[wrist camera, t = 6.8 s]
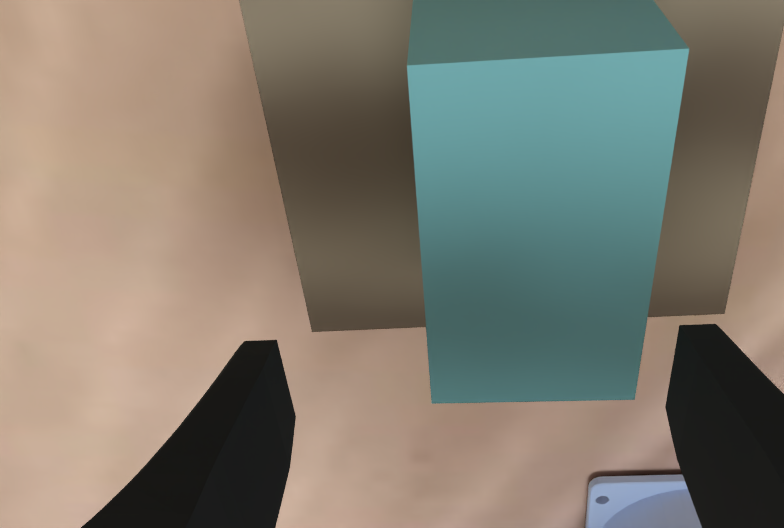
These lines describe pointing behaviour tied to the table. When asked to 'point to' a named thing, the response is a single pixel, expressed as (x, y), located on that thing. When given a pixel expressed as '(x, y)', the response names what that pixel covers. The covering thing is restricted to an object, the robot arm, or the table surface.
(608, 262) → the teal brick
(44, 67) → the table surface
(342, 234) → the walnut base brick
